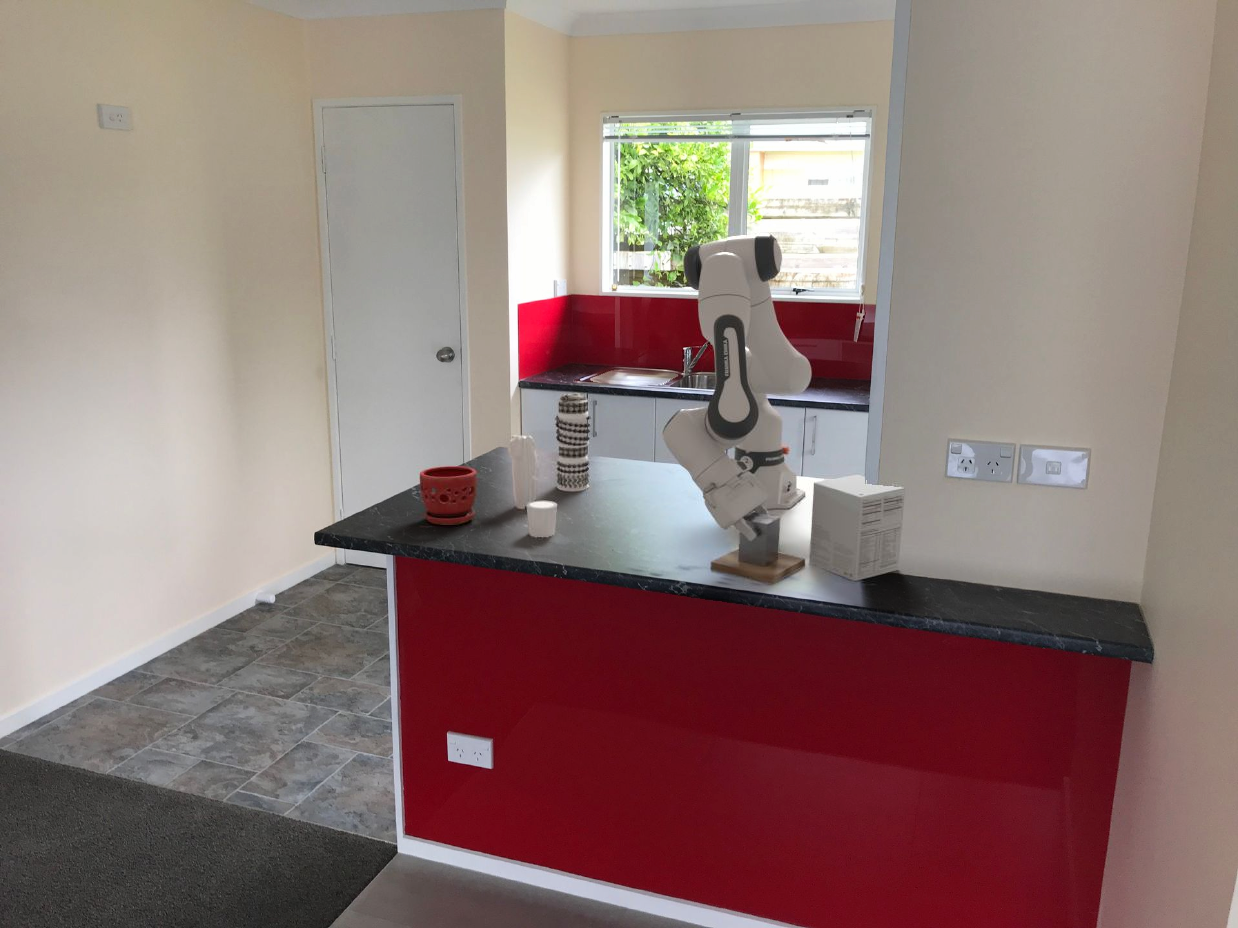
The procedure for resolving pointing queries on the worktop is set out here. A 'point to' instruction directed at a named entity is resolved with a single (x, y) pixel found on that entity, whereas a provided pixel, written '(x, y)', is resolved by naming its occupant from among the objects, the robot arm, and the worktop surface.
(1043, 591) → the worktop surface
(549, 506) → the white short cylinder
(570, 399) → the decorative candle
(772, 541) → the grey rectangular block
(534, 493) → the white figurine
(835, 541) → the supplement box
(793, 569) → the tang block
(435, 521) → the plant pot
